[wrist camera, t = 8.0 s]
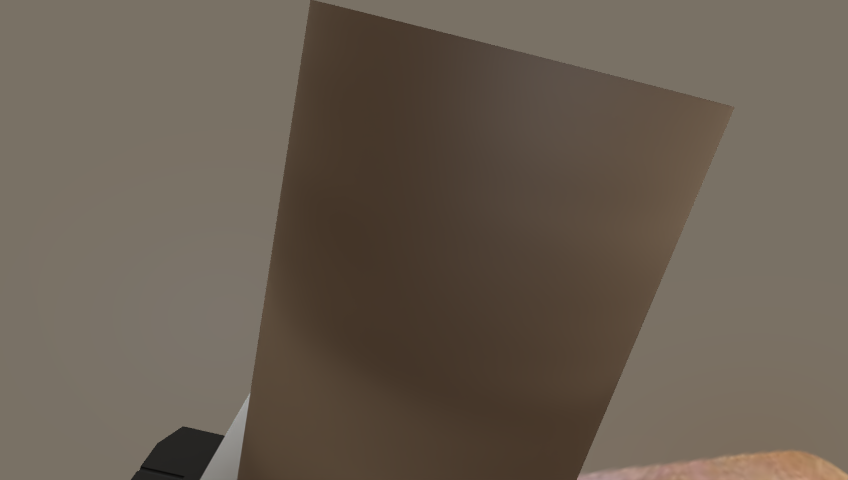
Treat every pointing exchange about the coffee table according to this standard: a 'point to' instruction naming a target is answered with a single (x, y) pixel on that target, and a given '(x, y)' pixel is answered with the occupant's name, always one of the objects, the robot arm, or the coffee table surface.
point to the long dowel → (460, 255)
